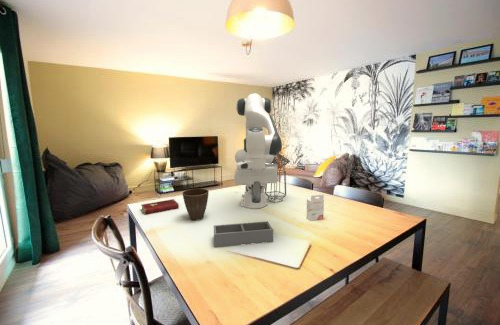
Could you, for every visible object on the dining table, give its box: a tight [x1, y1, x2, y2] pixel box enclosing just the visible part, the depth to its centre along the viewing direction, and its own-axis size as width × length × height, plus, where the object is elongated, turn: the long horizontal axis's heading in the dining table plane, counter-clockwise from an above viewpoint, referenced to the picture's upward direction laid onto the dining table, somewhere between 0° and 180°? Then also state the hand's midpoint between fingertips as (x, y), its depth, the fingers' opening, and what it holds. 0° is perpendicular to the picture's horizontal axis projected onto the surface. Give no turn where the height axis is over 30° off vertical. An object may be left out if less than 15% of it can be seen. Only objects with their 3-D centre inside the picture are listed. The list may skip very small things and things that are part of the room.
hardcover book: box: [140, 198, 180, 216], centre depth 154 cm, size 12×21×4 cm, turn 124°
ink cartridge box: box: [306, 194, 325, 222], centre depth 135 cm, size 9×5×15 cm, turn 105°
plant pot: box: [182, 188, 210, 221], centre depth 137 cm, size 15×15×16 cm
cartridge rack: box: [213, 220, 274, 248], centre depth 111 cm, size 10×27×6 cm, turn 100°
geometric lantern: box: [264, 152, 291, 203], centre depth 170 cm, size 16×16×35 cm
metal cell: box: [251, 181, 261, 203], centre depth 109 cm, size 4×4×11 cm
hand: (256, 193), depth 109 cm, fingers closed on metal cell, 4 cm apart
